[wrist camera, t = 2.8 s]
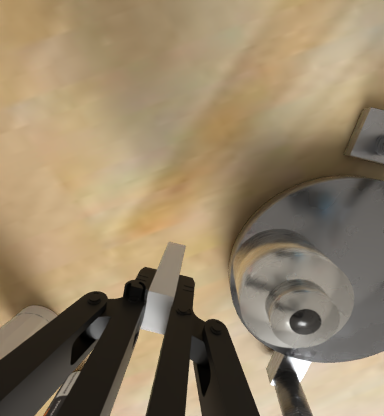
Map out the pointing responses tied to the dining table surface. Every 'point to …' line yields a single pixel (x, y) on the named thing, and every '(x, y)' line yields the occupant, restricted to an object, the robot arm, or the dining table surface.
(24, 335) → the cup
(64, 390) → the pill bottle
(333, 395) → the dining table surface
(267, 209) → the turntable
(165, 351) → the robot arm
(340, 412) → the dining table surface
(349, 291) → the cover
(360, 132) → the indicator
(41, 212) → the dining table surface
